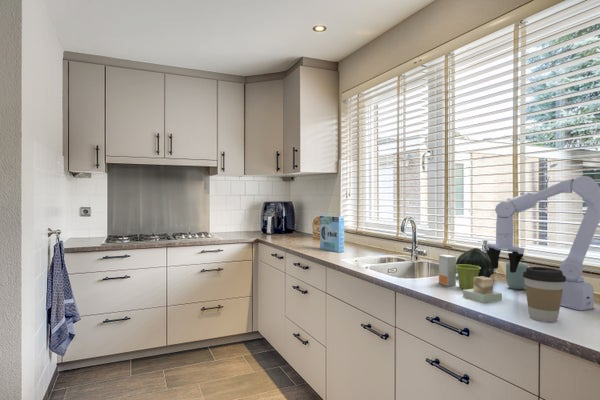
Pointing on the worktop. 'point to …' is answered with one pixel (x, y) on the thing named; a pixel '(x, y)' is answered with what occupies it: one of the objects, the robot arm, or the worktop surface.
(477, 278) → the maple block
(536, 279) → the coffee cup
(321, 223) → the gum box
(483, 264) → the squash
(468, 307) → the worktop surface
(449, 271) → the skincare box
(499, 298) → the sage block
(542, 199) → the robot arm
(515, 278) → the cup
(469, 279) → the plant pot
